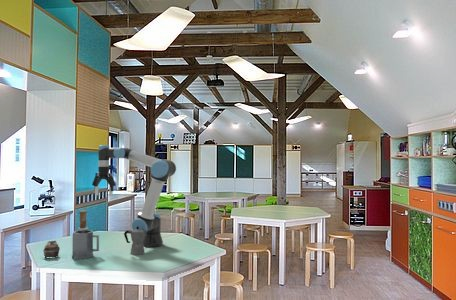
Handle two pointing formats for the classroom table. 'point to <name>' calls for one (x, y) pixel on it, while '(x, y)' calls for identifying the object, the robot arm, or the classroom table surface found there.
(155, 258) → the classroom table surface
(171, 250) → the classroom table surface
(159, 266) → the classroom table surface
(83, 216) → the plunger
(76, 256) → the press carafe
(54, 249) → the cupcake
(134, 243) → the coffeepot
